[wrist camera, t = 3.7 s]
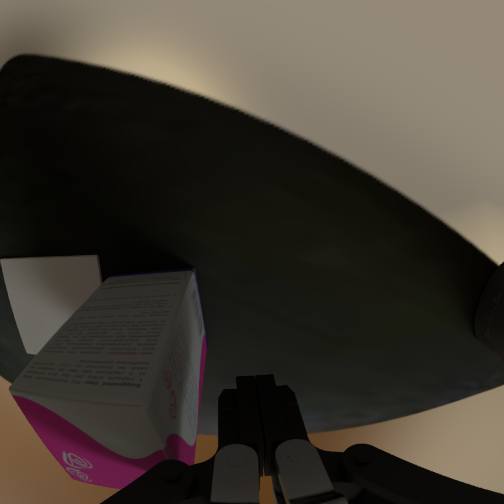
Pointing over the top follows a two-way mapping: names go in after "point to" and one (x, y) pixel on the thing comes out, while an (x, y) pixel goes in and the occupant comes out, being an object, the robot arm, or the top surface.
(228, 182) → the top surface
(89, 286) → the mat
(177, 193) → the top surface
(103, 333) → the supplement box
